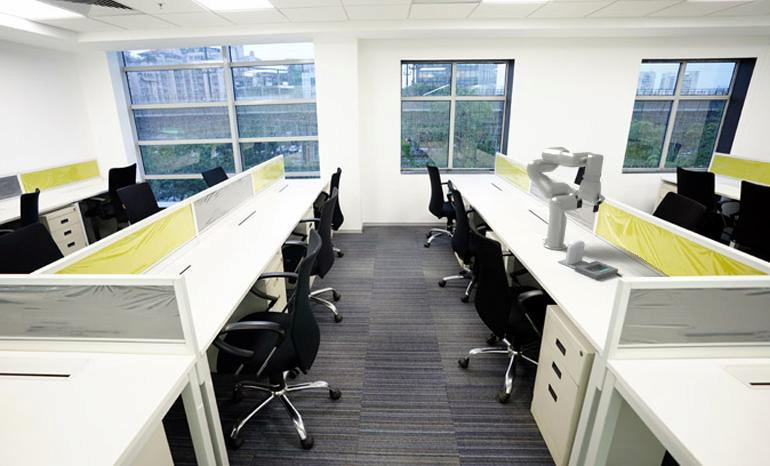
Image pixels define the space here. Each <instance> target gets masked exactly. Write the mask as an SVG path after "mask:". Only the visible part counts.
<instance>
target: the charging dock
mask: <svg viewBox="0 0 770 466" xmlns="http://www.w3.org/2000/svg"><path fill="white" fill-rule="evenodd" d="M596 269H600V270H596ZM593 270H596V271H593ZM574 272H576V273H579V274H580V275H583V276H585V277H588V278H590V279H592V280H593V281H597V280H600V279H605V278H607V277H611V276H615V275H616V274H618V273H619V268H616V267H613V266H611V265H608V264H606V263H604V262H600V261H598V260H594V261H590V262H588V263H587V264H583V265H580V266H576V267H575V269H574Z"/></svg>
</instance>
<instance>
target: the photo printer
mask: <svg viewBox="0 0 770 466" xmlns="http://www.w3.org/2000/svg"><path fill="white" fill-rule="evenodd" d="M585 246H586V245H585V242H584V241H583V240H580V239H577V240H574V241H571V242H570V243H569V244H568V245H567V247H566V248H567V249H566V255H565V260H566V263H567V264H575V263H578V262H581V261H582V260H583V257H584V250H585Z"/></svg>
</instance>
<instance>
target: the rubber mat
mask: <svg viewBox="0 0 770 466" xmlns="http://www.w3.org/2000/svg"><path fill="white" fill-rule="evenodd" d="M557 263H558V264H561V265H563V266H565V267H568V268H570V269H573V270H575V267H576V266H580V265H583V264H587V263H589V262H588V261H585V260H584V259H582V261H581V262H578V263H575V264H567V263H566V259H562V260H560V261H557Z"/></svg>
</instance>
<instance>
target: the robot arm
mask: <svg viewBox="0 0 770 466" xmlns="http://www.w3.org/2000/svg"><path fill="white" fill-rule="evenodd" d="M603 163H604V155H603V154H602V153H601V154H599V153H593V152H589V151H588V152H587V151H585V152H582V151H581V152H570V151H569V150H568V149H566V148H565V147H563V146H555V147H552V146H551V147H547V148H545V149H544V150H542V152H541V158H538V159H533V160H531V161H529V162H528V164H527V165H526V173H527V176H528V178H529V179H530V181H532V182H533V183H534V185H535V186H536V187H537V188H538V190H539V192H541V194H542V195H543V196H544V198H546V199H547V200H549V202H548V208H549V219H548V225H547V226H548V227H547V235H544V236H543V237H542V238H541V239H542V240H543V241H544V242H543V245H542V246H543V247H544V248H546V249H549V250H554V251H562V250H565V249H566V248H567V245H566V244H565V237H566V229H567V228H566V227H567V219H568V218H567V216H566V213H565V212H571V211H572V212H573V211H575V210H578V209H582V208H583V200H585V201H589V202H593V203H594V205H593V209H592V213H594V214H595V213H598V212H599V210H600V206H601V204H603V203H604V201H605V200H606V197H605V196H604V195H602V194H601V193H602V183H601V182H602V181H601V177H602V170H603V165H604V164H603ZM560 166H561V167H567V168H572V169H573V168H584V167H585V168H584V174H583V175H582V178H583V179H582V180H581V182H580V184H579V186H578V187H579V188H578V190H577V191H575V190H573V188H572V187H571V186H570V185H569V184H567V183H565V182H553V180H551V178H550V177H549V176H548V175H547V174H544V173H550V172H551V173H552V172H554V171H555V170H557V169H558V167H560Z"/></svg>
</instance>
